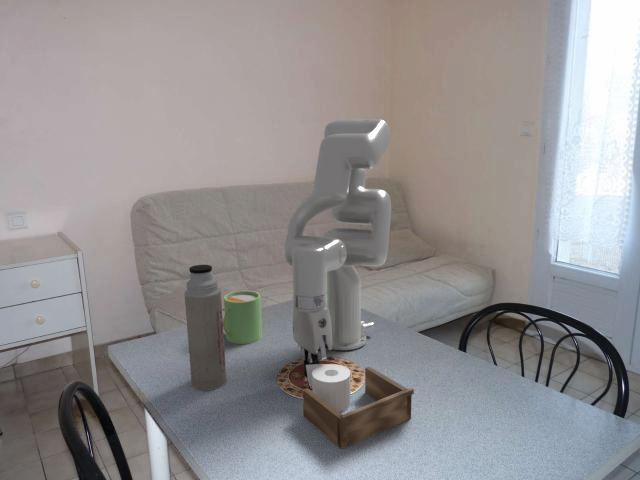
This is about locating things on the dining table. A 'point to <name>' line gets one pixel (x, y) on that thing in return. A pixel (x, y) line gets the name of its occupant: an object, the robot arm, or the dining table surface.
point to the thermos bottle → (205, 329)
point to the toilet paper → (331, 384)
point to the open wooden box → (361, 411)
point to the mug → (242, 317)
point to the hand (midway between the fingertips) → (311, 375)
